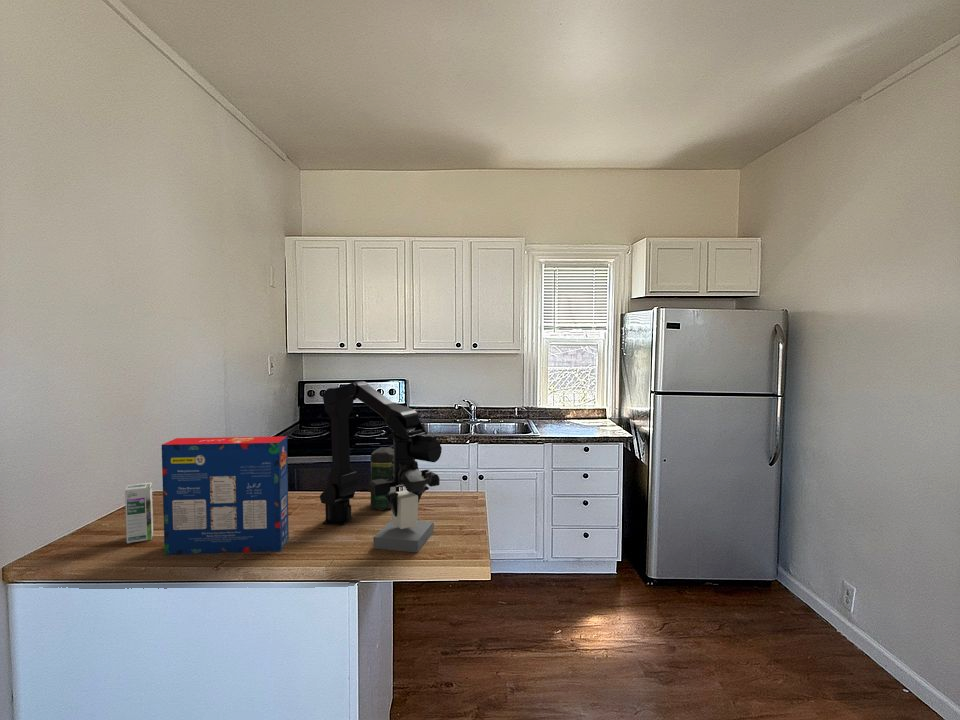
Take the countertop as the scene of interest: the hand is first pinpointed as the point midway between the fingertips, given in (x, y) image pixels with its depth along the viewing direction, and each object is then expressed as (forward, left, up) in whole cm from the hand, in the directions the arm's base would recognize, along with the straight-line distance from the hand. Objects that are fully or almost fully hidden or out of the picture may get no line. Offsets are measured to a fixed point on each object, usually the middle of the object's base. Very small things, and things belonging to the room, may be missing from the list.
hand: (404, 514), depth 141 cm
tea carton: (0, 0, -2) cm, 2 cm away
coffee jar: (-16, +25, -7) cm, 30 cm away
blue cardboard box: (-43, -14, -7) cm, 46 cm away
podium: (0, 0, -7) cm, 7 cm away
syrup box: (-70, -14, -7) cm, 72 cm away
